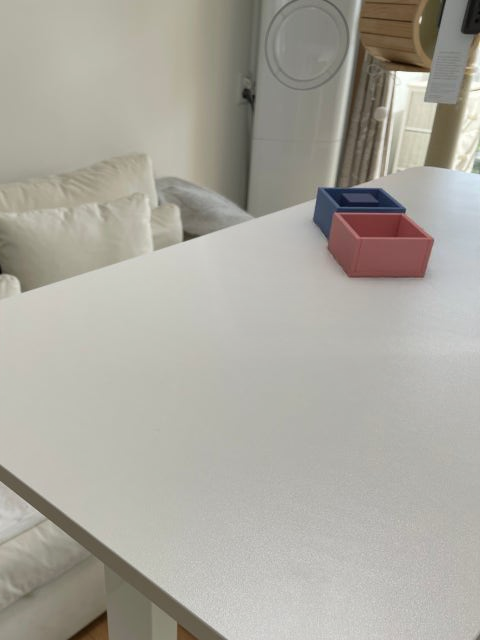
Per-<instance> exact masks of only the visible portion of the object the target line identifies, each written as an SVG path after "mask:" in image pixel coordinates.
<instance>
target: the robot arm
mask: <svg viewBox="0 0 480 640" xmlns="http://www.w3.org/2000/svg"><path fill="white" fill-rule="evenodd" d="M445 3H446V0H441V2H440V5H439V10H438V15H437V18H436V24H435V28H436V29H437V30H439V29H440V24H441V20H442V16H443V11H444V7H445ZM461 33H462V34H474V35H478V34H480V0H468V3H467V7H466V11H465V15H464V19H463V23H462V27H461Z"/></svg>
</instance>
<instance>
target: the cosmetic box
mask: <svg viewBox="0 0 480 640" xmlns="http://www.w3.org/2000/svg"><path fill="white" fill-rule="evenodd" d="M467 3H468V0H446V3H445V7H444V11H443V16H442V20H441V24H440V29H438V33H437V38H436V42H435V47H434V51H433V56H432V61H431V64H430V70H429V74H428V79H427V83H426V88H425V93H424V96H423V102H424V103H431V104H444V105H445V104H447V105H456V104H458V100H459V97H460V92H461V89H462V85H463V80H464V77H465V72H466V68H467V64H468V60H469V55H470V53H471V47H472V43H473V40H474V34H462V33H461V27H462V23H463V19H464V15H465V11H466V7H467Z"/></svg>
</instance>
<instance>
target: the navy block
mask: <svg viewBox="0 0 480 640" xmlns="http://www.w3.org/2000/svg"><path fill="white" fill-rule="evenodd" d="M339 206H340V207H378V206H379V202H378V201H377V200H376V199H375V198H374V197H373V196H372V195H371V194H353V193H342V194H341V199H340V205H339Z"/></svg>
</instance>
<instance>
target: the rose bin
mask: <svg viewBox="0 0 480 640" xmlns="http://www.w3.org/2000/svg"><path fill="white" fill-rule="evenodd" d="M434 243H435V238H433V236H432V235H430V234H429V233H428V232H427V231H425V230H424V229H423V227H421V226H420V225H418V224H417V223H416V222H415V221H414V220H412V219H411V218H410V217H409V216H408V215H407V214H406V213H405V214H404V213H334V214H333V219H332V225H331V230H330V236H329V240H328V241H327V247H326V248H327V250H328V251H329V252H330V253H331V254H332V256H333V257H334V259H335V260H336V262H338V264H339V265H340V267H341V268H342V270H344V272H345V273H346V275H347V276H348V277H350V278H351V277H353V278H355V277H357V278H359V277H361V278H362V277H363V278H364V277H365V278H366V277H367V278H368V277H371V278H373V277H374V278H376V277H377V278H383V277H384V278H386V277H387V278H389V277H390V278H393V277H394V278H395V277H396V278H397V277H398V278H399V277H400V278H413V277H414V278H424V277H425V275H426V271H427V268H428V264H429V261H430V258H431V253H432V250H433V247H434Z"/></svg>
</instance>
